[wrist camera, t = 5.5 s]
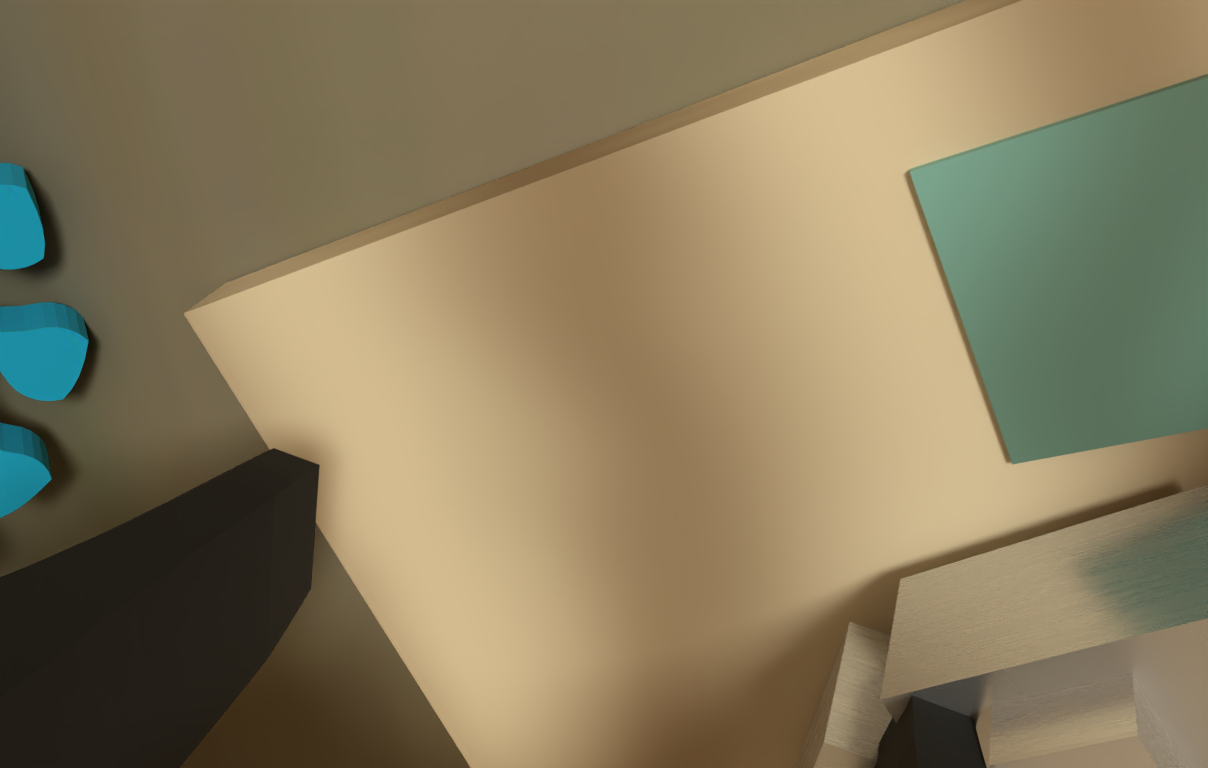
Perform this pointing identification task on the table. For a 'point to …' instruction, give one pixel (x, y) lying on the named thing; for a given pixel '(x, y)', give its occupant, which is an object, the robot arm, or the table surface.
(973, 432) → the beige square board
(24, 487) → the gear
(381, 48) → the table surface
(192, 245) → the table surface
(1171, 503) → the faceted metal ring
